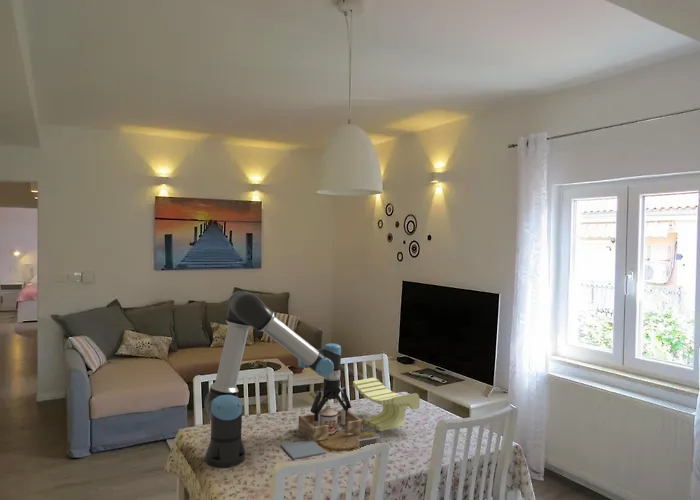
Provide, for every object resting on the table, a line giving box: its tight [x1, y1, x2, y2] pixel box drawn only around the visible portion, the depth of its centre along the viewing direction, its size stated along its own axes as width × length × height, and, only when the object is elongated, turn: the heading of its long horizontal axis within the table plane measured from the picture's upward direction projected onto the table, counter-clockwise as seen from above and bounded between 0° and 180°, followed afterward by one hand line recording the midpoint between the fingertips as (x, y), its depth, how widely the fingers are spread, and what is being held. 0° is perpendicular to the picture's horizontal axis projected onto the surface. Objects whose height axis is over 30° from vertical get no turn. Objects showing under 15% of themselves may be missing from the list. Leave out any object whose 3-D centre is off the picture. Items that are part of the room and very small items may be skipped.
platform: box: [356, 430, 381, 449], centre depth 215 cm, size 12×18×7 cm, turn 115°
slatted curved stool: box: [352, 377, 421, 432], centre depth 243 cm, size 30×16×18 cm, turn 37°
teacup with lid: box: [319, 405, 343, 432], centre depth 231 cm, size 12×9×12 cm
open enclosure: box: [297, 409, 364, 443], centre depth 231 cm, size 24×16×6 cm
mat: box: [280, 439, 327, 461], centre depth 210 cm, size 14×14×1 cm
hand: (330, 426), depth 231 cm, fingers closed on teacup with lid, 12 cm apart
